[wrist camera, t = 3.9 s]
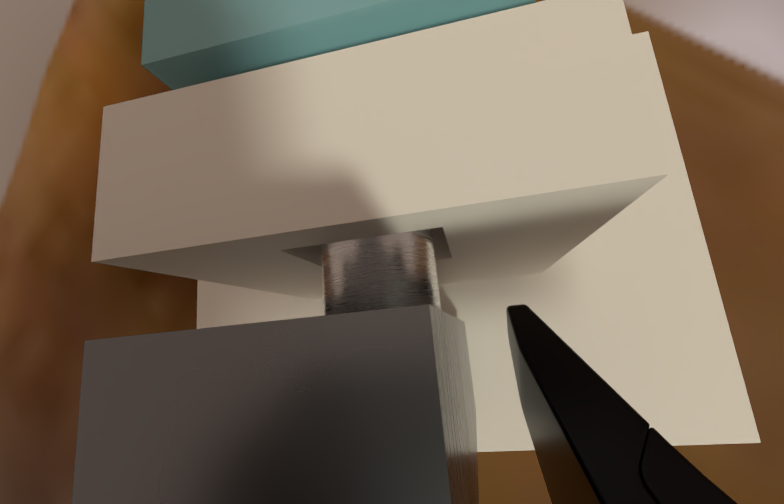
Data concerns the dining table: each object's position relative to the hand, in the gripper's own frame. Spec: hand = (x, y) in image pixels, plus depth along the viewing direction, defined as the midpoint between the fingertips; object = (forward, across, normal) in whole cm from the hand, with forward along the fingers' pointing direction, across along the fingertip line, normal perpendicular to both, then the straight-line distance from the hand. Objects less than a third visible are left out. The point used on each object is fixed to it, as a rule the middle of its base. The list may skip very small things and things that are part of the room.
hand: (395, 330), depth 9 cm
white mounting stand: (+7, 0, +3) cm, 8 cm away
